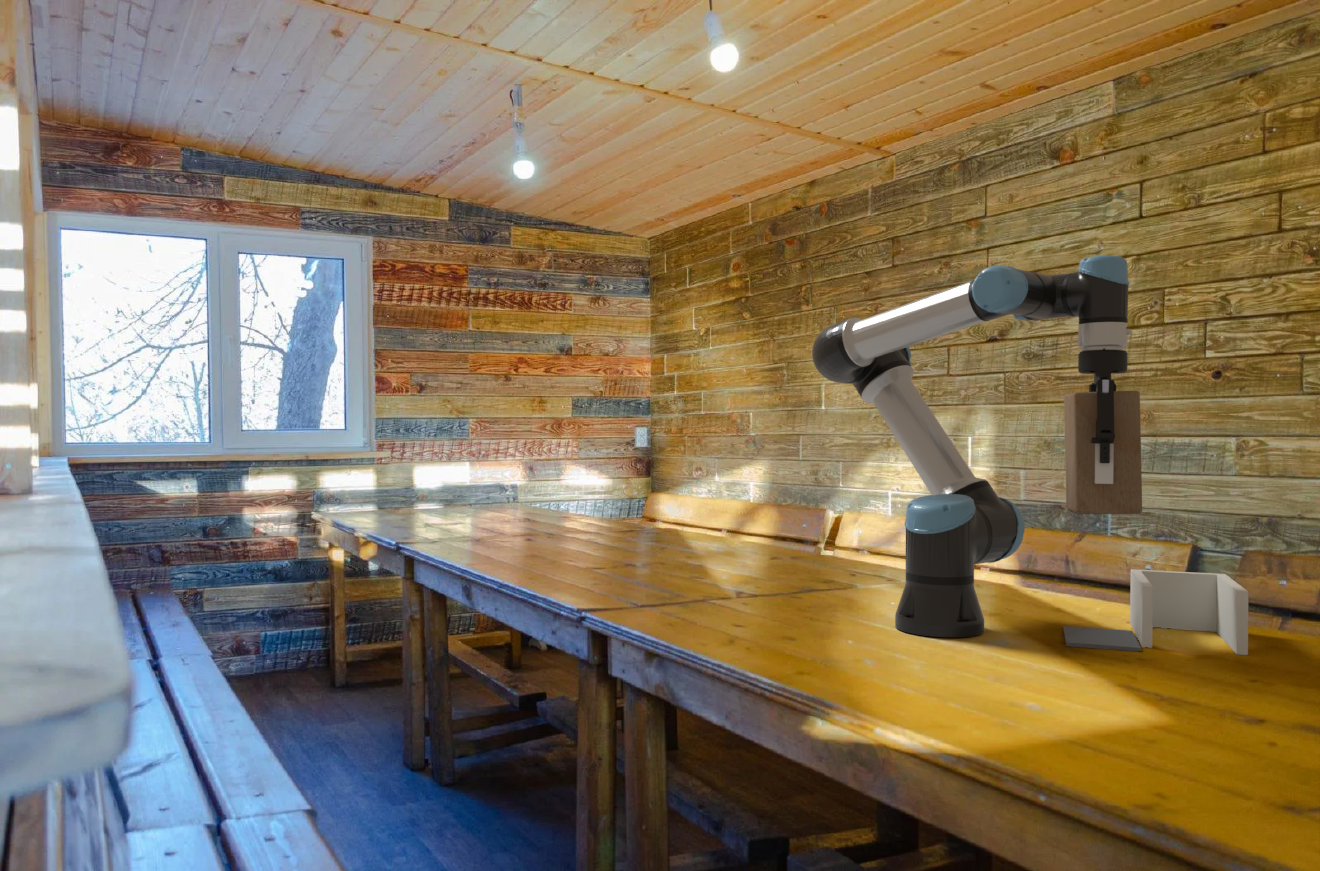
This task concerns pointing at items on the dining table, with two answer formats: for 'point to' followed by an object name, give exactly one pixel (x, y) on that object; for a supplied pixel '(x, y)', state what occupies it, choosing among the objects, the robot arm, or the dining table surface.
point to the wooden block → (1081, 455)
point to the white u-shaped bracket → (1189, 605)
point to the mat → (1101, 638)
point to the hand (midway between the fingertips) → (1101, 481)
